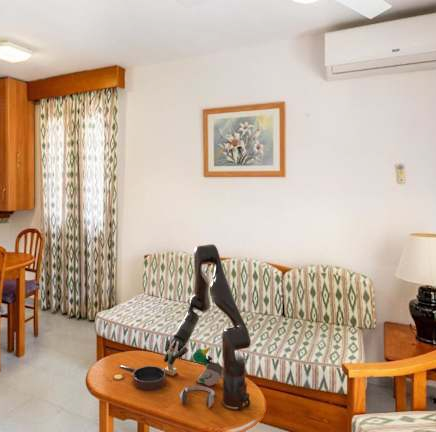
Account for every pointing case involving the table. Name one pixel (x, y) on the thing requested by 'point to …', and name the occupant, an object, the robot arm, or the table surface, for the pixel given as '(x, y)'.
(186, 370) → the table surface
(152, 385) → the pan
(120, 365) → the pan handle
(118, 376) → the disc
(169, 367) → the green peg on base
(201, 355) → the toy
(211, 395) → the headphones
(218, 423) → the table surface
